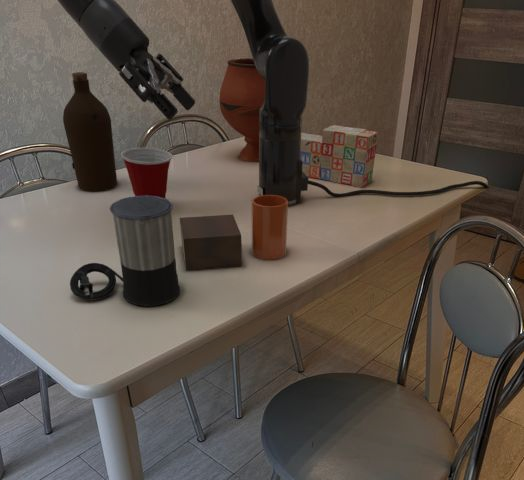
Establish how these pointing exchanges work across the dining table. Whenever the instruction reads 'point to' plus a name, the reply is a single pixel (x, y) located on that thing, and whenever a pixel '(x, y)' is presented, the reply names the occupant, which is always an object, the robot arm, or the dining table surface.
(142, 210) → the milk frother
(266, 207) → the terracotta cup
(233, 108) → the goblet
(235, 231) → the walnut block
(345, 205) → the dining table surface
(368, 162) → the stack of blocks
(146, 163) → the plastic cup
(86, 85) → the olive oil
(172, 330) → the dining table surface
